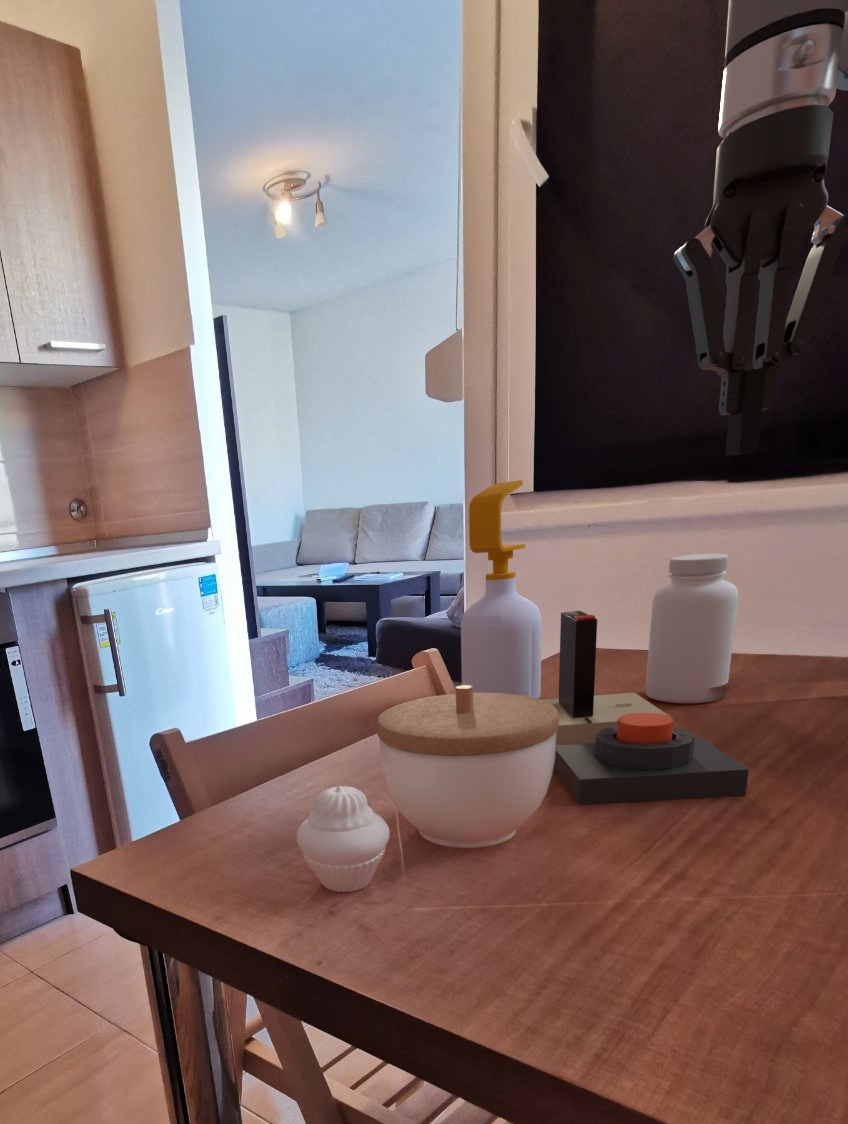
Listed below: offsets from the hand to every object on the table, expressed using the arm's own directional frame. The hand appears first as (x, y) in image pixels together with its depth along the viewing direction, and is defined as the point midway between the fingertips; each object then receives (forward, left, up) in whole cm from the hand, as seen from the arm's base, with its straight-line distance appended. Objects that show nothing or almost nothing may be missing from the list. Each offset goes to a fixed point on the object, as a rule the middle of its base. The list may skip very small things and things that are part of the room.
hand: (741, 453), depth 67 cm
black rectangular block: (+14, +3, -21) cm, 26 cm away
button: (+12, +16, -21) cm, 29 cm away
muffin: (+36, +32, -25) cm, 54 cm away
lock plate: (+14, +3, -24) cm, 28 cm away
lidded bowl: (+27, +24, -25) cm, 44 cm away
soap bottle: (+18, -15, -25) cm, 34 cm away
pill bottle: (-1, -10, -25) cm, 27 cm away
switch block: (+12, +16, -24) cm, 32 cm away
